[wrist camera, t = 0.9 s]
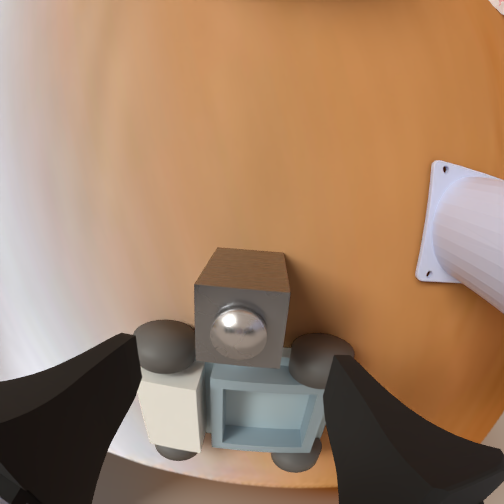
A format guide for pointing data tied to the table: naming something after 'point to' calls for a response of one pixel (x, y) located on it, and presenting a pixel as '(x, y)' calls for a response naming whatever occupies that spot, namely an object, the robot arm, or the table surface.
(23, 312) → the table surface
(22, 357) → the table surface
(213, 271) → the grey block with knob
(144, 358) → the chassis
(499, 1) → the beverage cup
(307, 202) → the table surface
